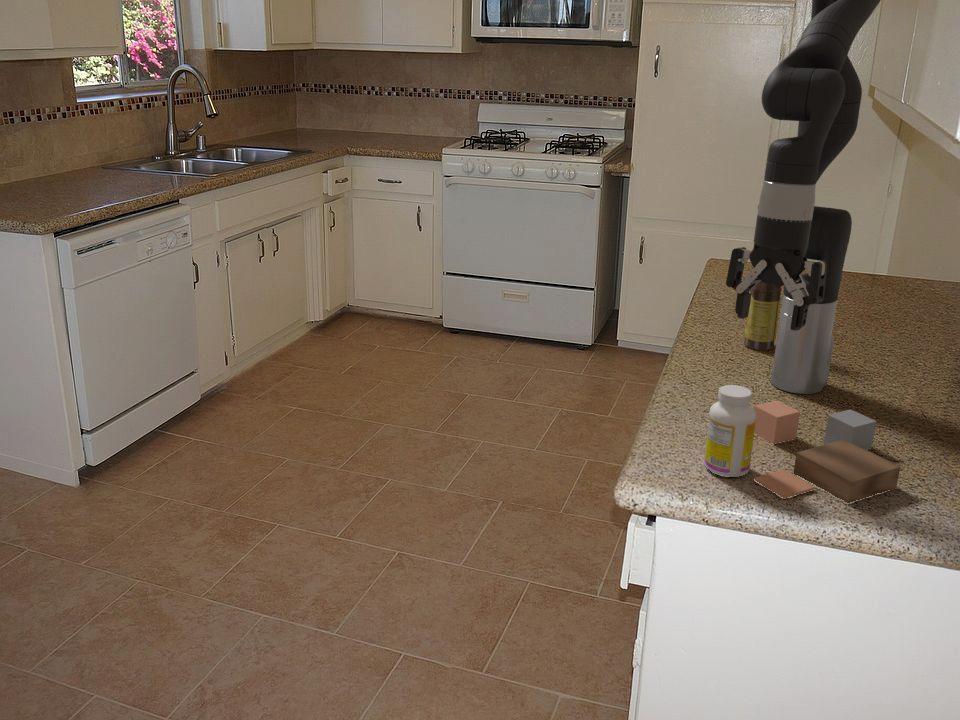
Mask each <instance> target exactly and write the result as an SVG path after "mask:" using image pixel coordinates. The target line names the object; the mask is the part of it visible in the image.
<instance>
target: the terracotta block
mask: <svg viewBox="0 0 960 720" xmlns="http://www.w3.org/2000/svg"><path fill="white" fill-rule="evenodd" d="M753 409H754V410H755V412H756V422H755V430H754V433H755V434H757V435H758V436H760V437H762V438H764V439H765V440H767V441H769V442H770V443H773V444H775V443H779V442H783V441H788V440H791V441H793V440H792V439H795V438H796V439H797V434H798V429H799V423H800V421H799V420H800V416H801V411H800V410H797V409H795V408H793V407H792V406H790V405H787V404H785V403H784V402H781V401H779V400H778V399H777V400H773V401H769V402H764V403H760V404H756V405H753ZM796 439H795V440H796ZM788 442H789V441H788ZM770 443H769V444H770Z"/></svg>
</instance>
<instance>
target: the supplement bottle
mask: <svg viewBox="0 0 960 720" xmlns="http://www.w3.org/2000/svg"><path fill="white" fill-rule="evenodd" d="M752 395H753V392H752V390H750V389H749V388H747V387H745V386H742V385H741V386H740V385H736V384H735V385H733V384H727V385H726V384H725V385H722V386H721V387H719V389H718V394H717V399H718V401H717V402H715V403H713V404H712V405H711V407H710V409H709V414H708V425H707V433H706V443H705V452H704V462H703V463H704V467H705V466H706V467H707V468H708V469H709V470H710V471H712V472H714V473H717V474H720V475H724V476H729V477H738V476H742V477H744V476H746V475H747V474H748V473H749V472H750V468H751V461H752V452H753V444H754V437H755V435H754V430H755V422H756V412H755V410H754V407H752V406H751V405H750V404H751V402H752V398H753V397H752ZM706 467H705V468H706ZM710 471H709V472H710ZM745 474H746V475H745ZM743 475H744V476H743ZM738 478H739V477H738Z"/></svg>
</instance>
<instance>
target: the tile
mask: <svg viewBox="0 0 960 720" xmlns="http://www.w3.org/2000/svg"><path fill="white" fill-rule="evenodd" d="M754 479H755V480H756V481H757V482H759V483H761V484H762V485H763V486H765V487H766V488H768V489H770V490H772V491H773V492H775V493H777V494H778V495H780V496H781V497H783V498H787V497H790V496H794V495H798V494H801V493H804V492H807V491H810V490H813V489H816V487H814V486H813V485H811V484H809V483H807V482H805V481H804V480H802V479H800V478H798V477H797V476H795V475H793V473H791V472H789V471H788V470H786V469H779V470H776V471H773V472H770V473H769V472H768V473H765V474H763V475H759V476H755V477H753V480H754Z"/></svg>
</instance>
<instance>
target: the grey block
mask: <svg viewBox="0 0 960 720" xmlns="http://www.w3.org/2000/svg"><path fill="white" fill-rule="evenodd" d="M876 425H877V420H875V419H872V418H870V417H868V416H866V415H863V414H862V413H859V412H857V411H855V410H853V409H847V410H843V411H840V412H835V413H832V414H828V417H827V421H826V427H825V432H824V433H825V434H824V437H823V438H824V439H823V443H824V442H825V443H827V444H829V443H832V442H836V441H839V440H843V439H844V440H846V441H849V442H851V443H853V444H855V445H857V446H859V447H861V448H863V449H865V450H867V449H870V448H871V449H872V445H873V441H874V435H875V430H876ZM825 443H824V444H825ZM871 449H870V450H871ZM867 451H868V450H867Z"/></svg>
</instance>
